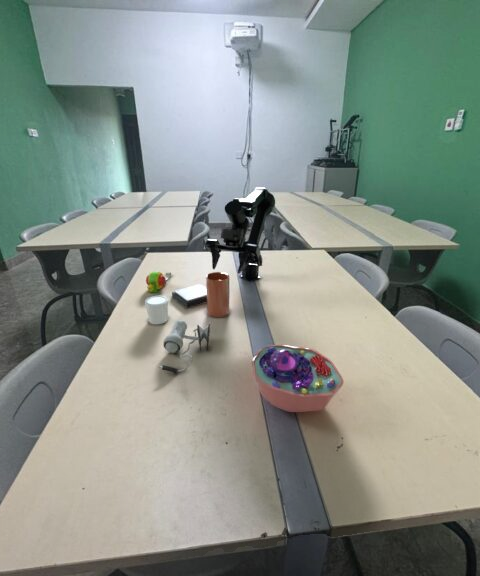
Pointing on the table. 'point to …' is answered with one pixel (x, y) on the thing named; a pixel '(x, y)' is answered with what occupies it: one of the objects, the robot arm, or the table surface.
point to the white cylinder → (157, 309)
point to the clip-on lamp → (175, 341)
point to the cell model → (295, 378)
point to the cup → (217, 294)
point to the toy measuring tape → (156, 280)
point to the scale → (191, 295)
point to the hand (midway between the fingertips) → (225, 271)
